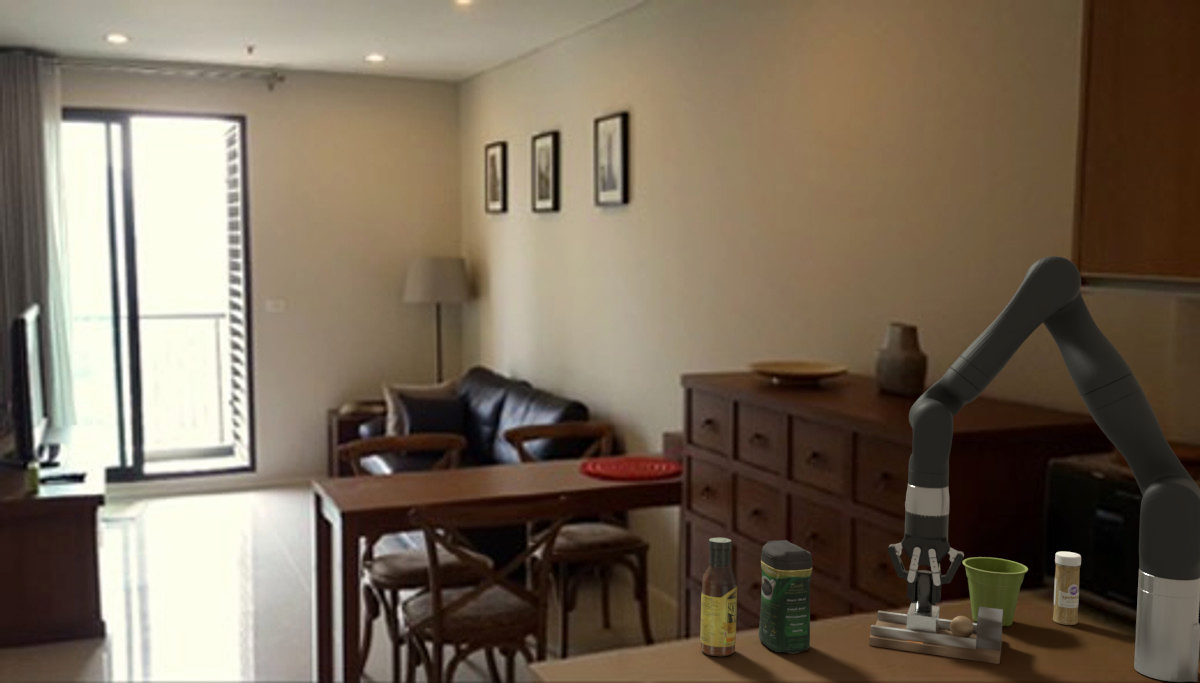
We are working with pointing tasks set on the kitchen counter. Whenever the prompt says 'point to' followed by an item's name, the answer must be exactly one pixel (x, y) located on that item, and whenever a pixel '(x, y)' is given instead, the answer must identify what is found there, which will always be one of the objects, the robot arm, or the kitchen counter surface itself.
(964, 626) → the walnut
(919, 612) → the sliding jaw
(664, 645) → the kitchen counter surface
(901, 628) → the board
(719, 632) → the sauce bottle
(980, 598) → the plant pot
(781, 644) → the coffee jar
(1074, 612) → the sprinkles bottle
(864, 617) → the kitchen counter surface
